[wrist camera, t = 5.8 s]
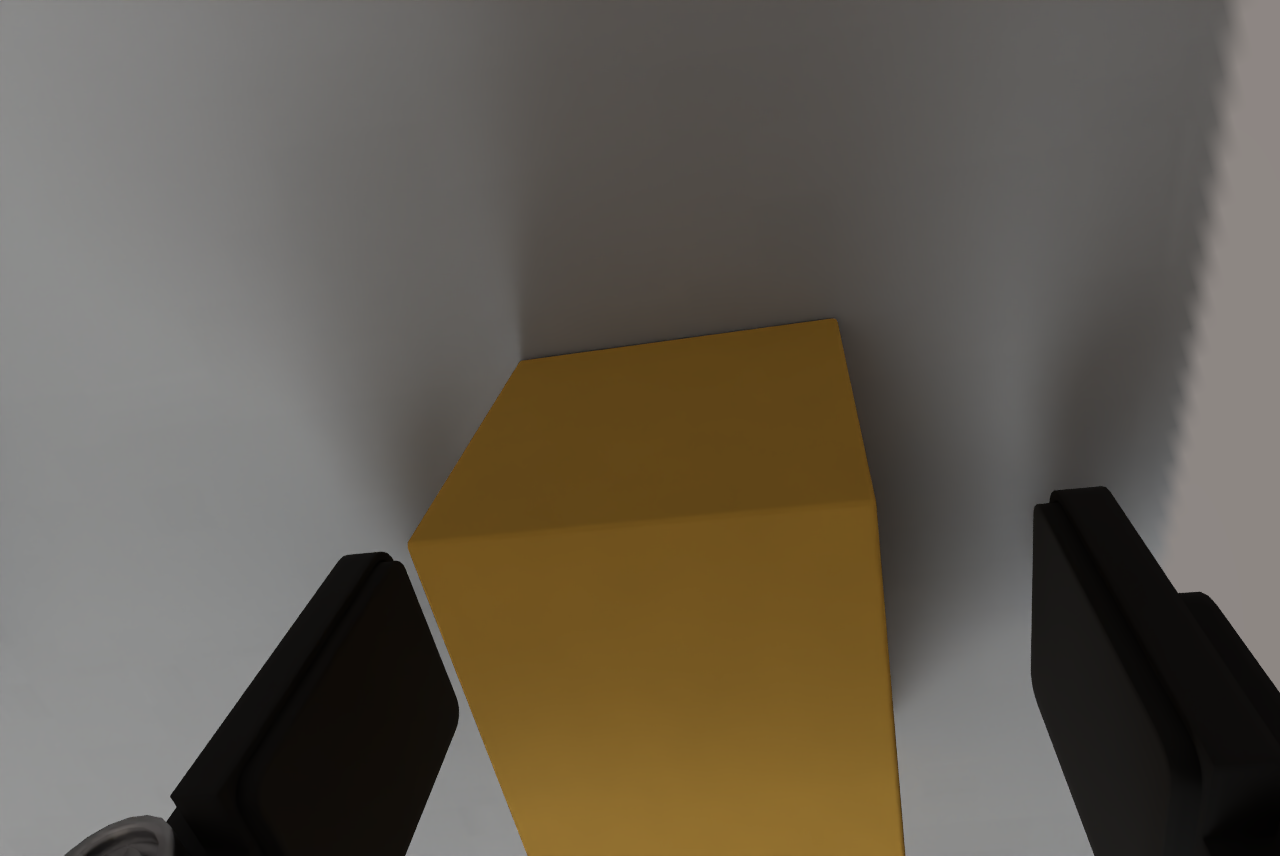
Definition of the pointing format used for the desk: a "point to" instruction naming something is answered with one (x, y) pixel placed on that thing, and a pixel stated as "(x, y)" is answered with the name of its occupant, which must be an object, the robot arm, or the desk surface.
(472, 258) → the desk surface
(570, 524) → the sponge
